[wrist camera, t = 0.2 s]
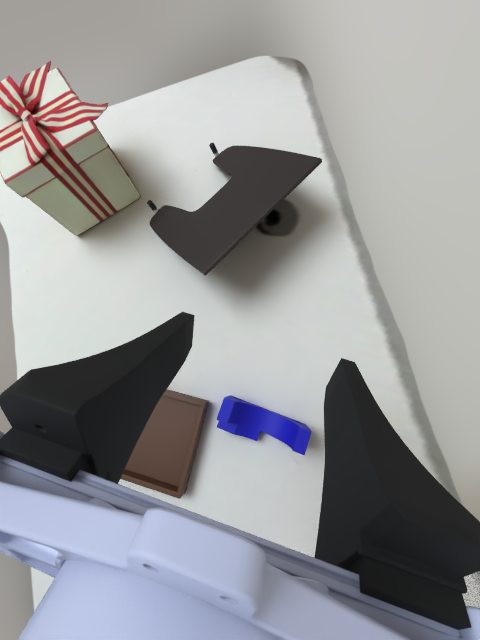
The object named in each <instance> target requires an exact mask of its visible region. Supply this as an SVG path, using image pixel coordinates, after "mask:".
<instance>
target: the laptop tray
mask: <svg viewBox="0 0 480 640" xmlns="http://www.w3.org/2000/svg"><path fill="white" fill-rule="evenodd" d="M209 146H210V148H211V150H212V152H213V154H214V155H215V158H214V159H213V163H214V164H215V165H217V166H218V167H220V168H221V169H223V170H225V171H227V172H229V173H231V174H232V177H231V179H230V180H229V181H228V182H227V183H226V184H225V185H224V186H223V187H222V188H221V189H220V190H219V191H218V192H217V193H216V194H215V195H214V196H213V197H212V198H211V199H210V200H209V201H207V202H206V203H205V204H204V205H203V206H202V207H201V208H199V209H198V210H196V211H194V212H188V211H186V210H183V209H180V208H176V207H172V206H167V205H165V206H163V207H162V208H161V209H159V210H158V209H157V207H156V206H155V205H154V203H153V202H152V201H151V200H149V201H148V202H147V204H148V205H149V206H150V207H151V209H152V210H153V211H154V212H155V213H156V214H155V215H154V216H153V217H152V219H151V221H150V226H151V227H152V229H153V230H154V231H155V232H156V234H157V235H158V236H159V237H160V238H161V239H162V240H163V241H164V242H165V243H166V244H167V245H168V246H169V247H170V248H171V249H172V250H174V251H175V252H176V253H177V254H178V255H179V256H181V257H182V258H183V259H184V260H186V261H187V262H188V263H190V264H191V265H192V266H194V267H195V268H196V269H198V270H199V271H200V272H202V273H203V274H204V275H207V274H208V273H209V272H210V271H211V270H212V269H213V268H214V267H215V266H216V265H217V264H218V263H219V262H220V261H221V260H222V259H223V258H224V257H225V256H226V255H227V254H228V253H229V252H230V251H231V250H232V249H233V248H234V247H235V246H236V245H237V244H238V243H239V242H241V241H242V240H243V239H244V238H245V237H246V236H247V235H248V234H249V233H250V232H251V231H252V230H253V229H254V228H255V227H256V226H257V225H258V224H259V223H260V222H261V221H262V220H263V219H264V218H265V217H266V216H267V215H268V214H269V213H270V212H271V211H272V210H273V209H274V208H275V207H276V206H277V205H278V204H279V203H281V202H282V201H283V200H284V199H285V198H286V197H287V196H288V195H289V194H290V193H291V192H292V191H293V190H294V189H295V188H296V187H297V186H298V185H299V184H300V183H301V182H302V181H303V180H304V179H305V178H306V177H307V176H308V175H309V174H310V173H311V172H312V171H313V170H314V169H315V168H316V167H317V166H318V165H319V164H320V163H321V162H322V159H320V158H317V157H312V156H307V155H303V154H298V153H293V152H287V151H282V150H275V149H269V148H261V147H251V146H231V147H229V148H227V149H225V150H224V151H222V152H221V153H220V154H219V153H218V151H217V149H216V147H215V145H214V143H211V144H210V145H209Z"/></svg>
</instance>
